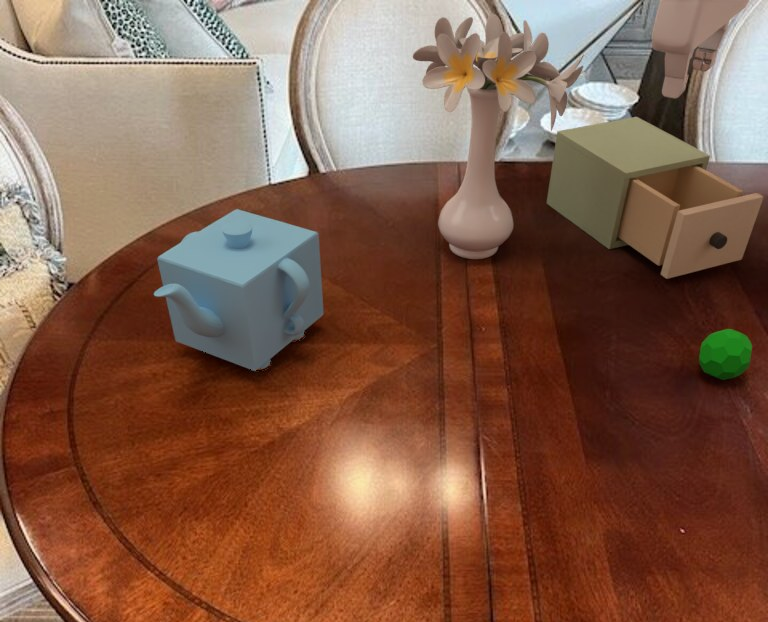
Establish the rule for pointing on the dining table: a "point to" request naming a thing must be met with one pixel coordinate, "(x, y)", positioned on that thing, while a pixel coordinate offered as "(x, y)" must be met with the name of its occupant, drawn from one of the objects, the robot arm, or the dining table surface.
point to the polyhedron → (725, 354)
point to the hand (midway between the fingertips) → (687, 81)
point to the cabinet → (610, 171)
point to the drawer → (687, 219)
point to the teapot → (243, 287)
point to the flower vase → (487, 118)
